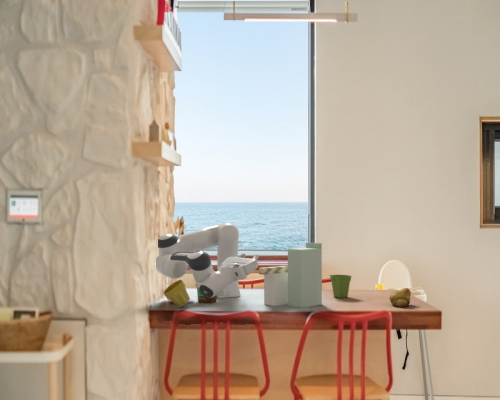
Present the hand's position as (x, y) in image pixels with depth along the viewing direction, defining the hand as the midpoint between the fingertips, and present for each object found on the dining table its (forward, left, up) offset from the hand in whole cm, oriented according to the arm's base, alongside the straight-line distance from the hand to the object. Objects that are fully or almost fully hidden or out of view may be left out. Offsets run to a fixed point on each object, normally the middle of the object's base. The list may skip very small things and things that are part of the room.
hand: (250, 255), depth 239 cm
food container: (-26, +7, -25) cm, 37 cm away
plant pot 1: (-30, -8, -23) cm, 39 cm away
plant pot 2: (+34, +47, -25) cm, 63 cm away
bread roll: (+65, +31, -25) cm, 76 cm away
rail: (+8, +15, -10) cm, 19 cm away
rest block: (+9, +16, -25) cm, 30 cm away
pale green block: (+22, +17, -25) cm, 37 cm away
